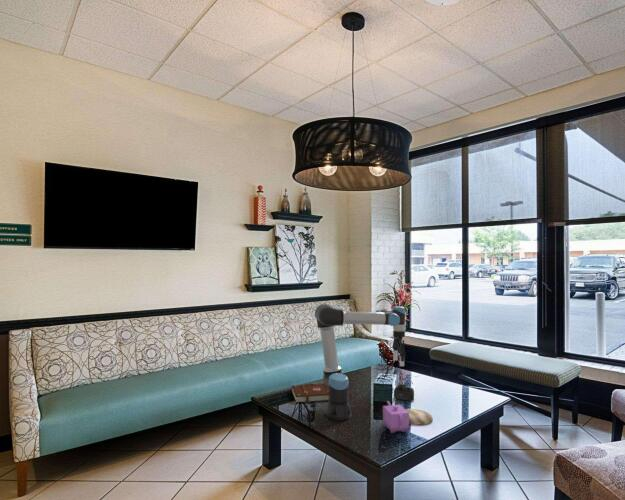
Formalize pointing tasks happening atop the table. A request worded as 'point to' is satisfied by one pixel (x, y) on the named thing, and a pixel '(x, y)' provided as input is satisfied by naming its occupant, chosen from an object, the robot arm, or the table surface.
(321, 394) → the book
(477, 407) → the table surface
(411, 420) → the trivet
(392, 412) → the teapot
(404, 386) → the camera
